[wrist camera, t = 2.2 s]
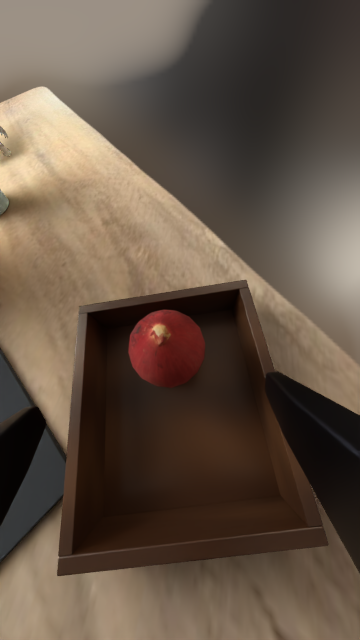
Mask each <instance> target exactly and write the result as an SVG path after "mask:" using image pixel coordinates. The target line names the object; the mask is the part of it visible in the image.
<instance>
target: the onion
mask: <svg viewBox="0 0 360 640" xmlns="http://www.w3.org/2000/svg"><path fill="white" fill-rule="evenodd" d="M128 353H129V356H130V360H131V363H132V366H133V368H134V369H135V370H136V372H137V373H138V374H139V375H140V377H141V378H142V379H144V380H146V381H148V382H149V383H151V384H153V385H155V386H158V387H168V388H173V387H175V386H178V385H181V384H184V383H186V382H188V381H189V380H190V379H191V378H192V377H193V376H194V375H195V374H196V373H197V372H198V370H199V368H200V366H201V364H202V362H203V360H204V355H205V341H204V338H203V336H202V333H201V330H200V327H199V326H198V325H197V324H196V323H195V322H194V321H193V320H192V319H191V318H190V317H189V316H187V315H185V314H182V313H180V312H178V311H174V310H160V311H156V312H152V313H150V314H148V315H147V316H146V317H144V318H143V319H142V320H140V321H139V322H138V323H137V325H136V327H135V328H134V330H133V331H132V333H131V334H130V341H129V351H128Z"/></svg>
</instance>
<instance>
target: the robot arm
mask: <svg viewBox="0 0 360 640" xmlns="http://www.w3.org/2000/svg"><path fill="white" fill-rule="evenodd" d="M265 391H266V395H267V398H268V400H269V402H270V405H271V407H272V409H273V412H274V414H275V416H276V419H277V421H278V423H279V426H280V428H281V430H282V433H283V435H284V437H285V439H286V441H287V443H288V444H289V446H290V448H291V450H292V452H293V454H294V455H295V457H296V459H297V461H298V463H299V464H300V466H301V468H302V470H303V472H304V473H305V475H306V477H307V479H308V481H309V483H310V484H311V486H312V488H313V490H314V492H315V493H316V495H317V497H318V499H319V501H320V502H321V504H322V506H323V508H324V510H325V512H326V513H327V515H328V517H329V519H330V521H331V522H332V524H333V526H334V528H335V530H336V531H337V533H338V535H339V537H340V539H341V541H342V542H343V544H344V546H345V548H346V550H347V551H348V553H349V555H350V557H351V559H352V560H353V562H354V564H355V566H356V568H357V569H358V571H359V573H360V415H358V414H356V413H354V412H352V411H350V410H349V409H347V408H345V407H343V406H341V405H339V404H337V403H336V402H334V401H332V400H330V399H328V398H326V397H324V396H323V395H321V394H319V393H317V392H315V391H313V390H311V389H309V388H308V387H306V386H304V385H302V384H300V383H298V382H296V381H295V380H293V379H291V378H289V377H287V376H285V375H283V374H282V373H280V372H277V371H275V372H268V373H266V376H265ZM45 427H46V420H45V418H44V417H43V415H42V413H41V411H40V410H39V408H38V407H36V406H32V407H26V408H23V409H22V410H20V411H19V412H17V413H16V414H14V415H12V416H11V417H9V418H8V419H6V420H5V421H3V422H2V423H0V527H1V525H2V523H3V521H4V519H5V517H6V514H7V512H8V510H9V508H10V506H11V504H12V502H13V500H14V498H15V496H16V494H17V492H18V490H19V488H20V486H21V484H22V482H23V480H24V478H25V476H26V474H27V472H28V469H29V467H30V465H31V462H32V460H33V457H34V455H35V452H36V450H37V447H38V445H39V442H40V440H41V437H42V435H43V432H44V430H45Z"/></svg>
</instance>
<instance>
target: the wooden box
mask: <svg viewBox="0 0 360 640" xmlns="http://www.w3.org/2000/svg"><path fill="white" fill-rule="evenodd" d="M160 310H174V311H178V312H180V313H182V314H185V315H187V316H189V317H190V318H191V319H192V320H193V321H194V322H195V323H196V324H197V325H198V326H199V327H200V330H201V333H202V336H203V338H204V341H205V355H204V360H203V362H202V364H201V366H200V368H199V370H198V372H197V373H196V374H195V375H194V376H193V377H192V378H191V379H190V380H189V381H188V382H186V383H184V384H181V385H178V386H175V387H173V388H168V387H158V386H155V385H153V384H151V383H149V382H148V381H146V380H144V379H142V378H141V377H140V375H139V374H138V373H137V372H136V370H135V369H134V368H133V366H132V363H131V360H130V356H129V353H128V351H129V341H130V334H131V333H132V331H133V330H134V328H135V327H136V325H137V323H138V322H139V321H140V320H142V319H143V318H144V317H146V316H147V315H148V314H150V313H152V312H156V311H160ZM268 372H275V370H274V367H273V364H272V361H271V357H270V354H269V351H268V348H267V345H266V341H265V338H264V335H263V332H262V329H261V325H260V322H259V319H258V316H257V313H256V309H255V306H254V303H253V300H252V297H251V293H250V290H249V288H248V284H247V281H246V280H241V281H234V282H228V283H222V284H215V285H209V286H203V287H197V288H190V289H184V290H178V291H172V292H165V293H159V294H153V295H146V296H140V297H134V298H128V299H121V300H115V301H109V302H102V303H96V304H90V305H84V306H79V315H78V326H77V338H76V350H75V362H74V374H73V386H72V398H71V410H70V422H69V434H68V446H67V458H66V470H65V482H64V494H63V506H62V518H61V530H60V542H59V554H58V556H59V559H58V570H57V576H63V575H72V574H81V573H90V572H99V571H108V570H117V569H126V568H134V567H143V566H152V565H161V564H170V563H179V562H188V561H196V560H205V559H214V558H223V557H232V556H241V555H250V554H259V553H267V552H276V551H285V550H294V549H303V548H312V547H321V546H328V541H327V537H326V534H325V531H324V528H323V526H322V525H323V524H322V521H321V517H320V514H319V511H318V508H317V505H316V501H315V498H314V495H313V492H312V489H311V485H310V483H309V481H308V479H307V477H306V475H305V473H304V472H303V470H302V468H301V466H300V464H299V463H298V461H297V459H296V457H295V455H294V454H293V452H292V450H291V448H290V446H289V444H288V443H287V441H286V439H285V437H284V435H283V433H282V430H281V428H280V426H279V423H278V421H277V419H276V416H275V414H274V412H273V409H272V407H271V405H270V402H269V400H268V398H267V395H266V391H265V376H266V373H268Z"/></svg>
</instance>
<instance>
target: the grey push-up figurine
mask: <svg viewBox="0 0 360 640" xmlns="http://www.w3.org/2000/svg"><path fill="white" fill-rule="evenodd" d="M0 133H1V135H2V133H3V134H4V136H5V135H7V133H6V132H5V130H4V129H3V128H2V127H1V126H0ZM6 137H7V138H8V136H5V138H6ZM0 150H1V151H2V152H3V154H4V155H5V156H9V155H11V152H10V150H9V149H7V148H6V147H5V146H4V145H3V144H2V143H1V142H0Z"/></svg>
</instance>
